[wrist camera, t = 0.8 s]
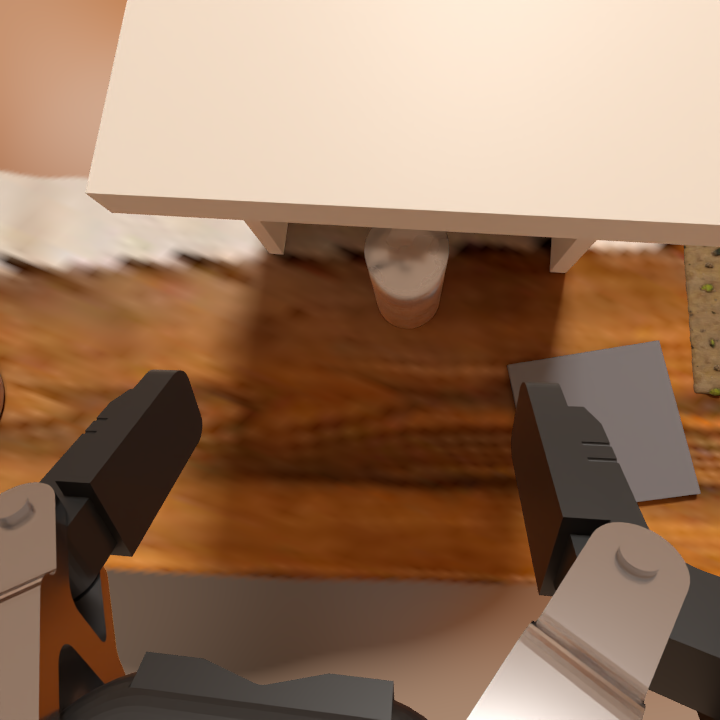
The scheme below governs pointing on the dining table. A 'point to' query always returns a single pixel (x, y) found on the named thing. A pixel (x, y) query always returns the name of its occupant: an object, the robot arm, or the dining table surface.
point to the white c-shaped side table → (420, 117)
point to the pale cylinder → (407, 273)
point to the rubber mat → (625, 412)
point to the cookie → (704, 315)
